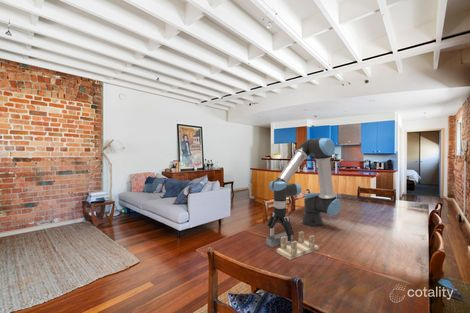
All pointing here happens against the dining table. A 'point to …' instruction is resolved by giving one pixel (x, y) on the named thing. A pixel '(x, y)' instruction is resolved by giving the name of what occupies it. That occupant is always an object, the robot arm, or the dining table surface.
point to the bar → (276, 239)
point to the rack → (297, 246)
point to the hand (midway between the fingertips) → (279, 242)
